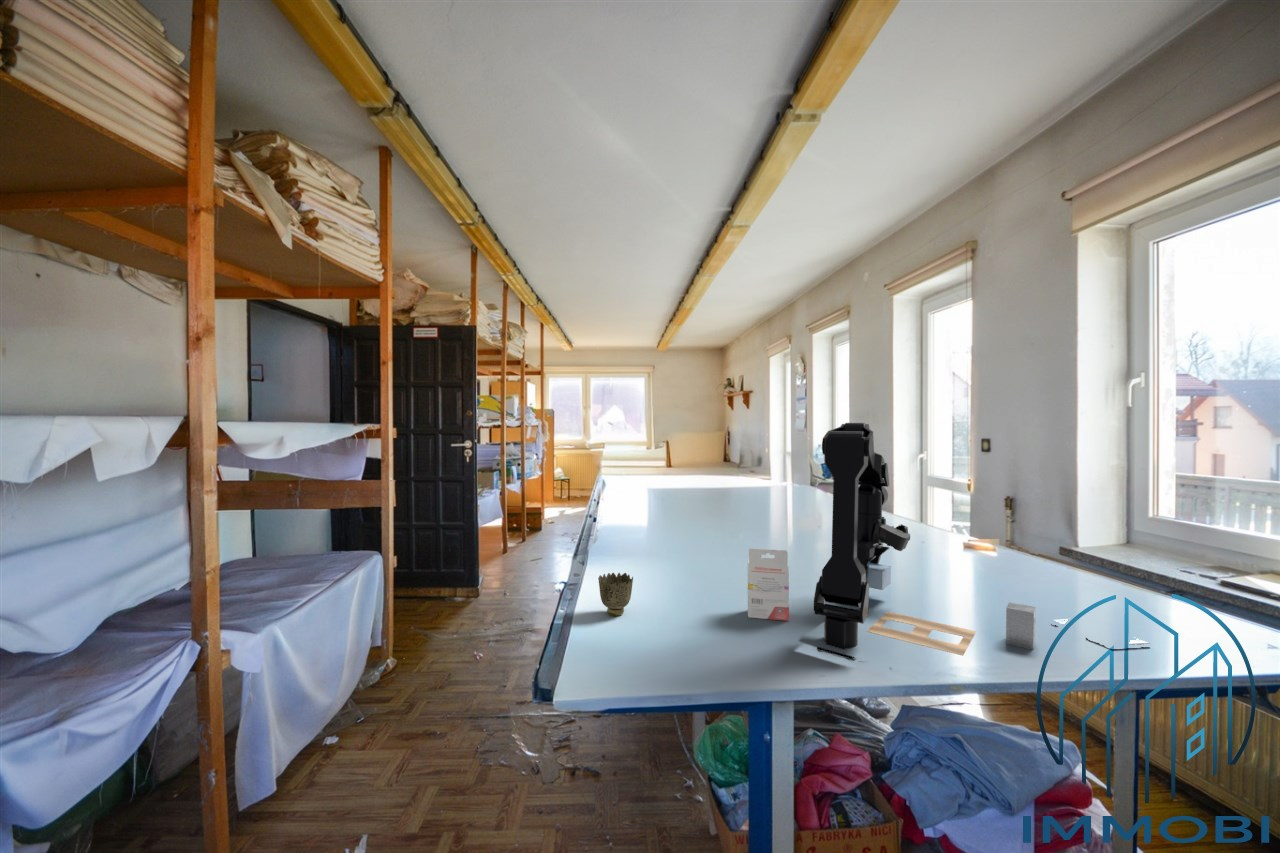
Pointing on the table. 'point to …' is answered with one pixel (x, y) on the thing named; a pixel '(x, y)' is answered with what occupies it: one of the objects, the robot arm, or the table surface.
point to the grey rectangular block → (1020, 625)
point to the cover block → (878, 576)
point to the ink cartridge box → (768, 585)
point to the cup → (615, 592)
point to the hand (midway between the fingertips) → (867, 581)
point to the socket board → (924, 633)
